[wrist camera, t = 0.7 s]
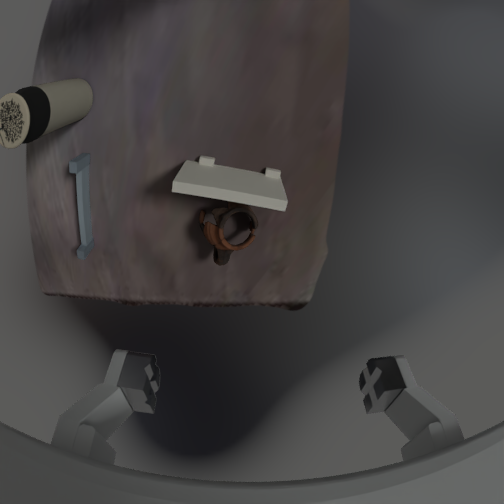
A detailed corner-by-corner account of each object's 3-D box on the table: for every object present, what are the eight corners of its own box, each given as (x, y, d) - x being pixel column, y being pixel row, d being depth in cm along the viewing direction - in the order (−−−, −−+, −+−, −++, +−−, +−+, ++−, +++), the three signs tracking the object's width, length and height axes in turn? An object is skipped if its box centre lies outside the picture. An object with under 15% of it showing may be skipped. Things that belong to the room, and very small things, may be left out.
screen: (187, 153, 46) (173, 172, 38) (282, 170, 48) (290, 193, 40) (184, 175, 48) (171, 199, 40) (276, 191, 50) (282, 218, 42)
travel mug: (90, 72, 36) (24, 82, 21) (97, 114, 41) (35, 141, 26) (55, 86, 37) (-13, 104, 22) (62, 125, 41) (-2, 157, 26)
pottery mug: (196, 193, 51) (215, 202, 44) (243, 194, 56) (267, 203, 49) (192, 257, 55) (209, 275, 48) (237, 254, 59) (258, 270, 53)
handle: (82, 153, 44) (69, 161, 40) (89, 153, 45) (76, 162, 40) (87, 244, 55) (77, 258, 51) (94, 245, 56) (84, 259, 51)
